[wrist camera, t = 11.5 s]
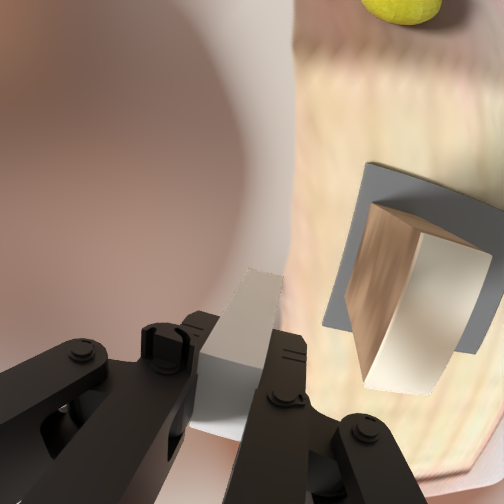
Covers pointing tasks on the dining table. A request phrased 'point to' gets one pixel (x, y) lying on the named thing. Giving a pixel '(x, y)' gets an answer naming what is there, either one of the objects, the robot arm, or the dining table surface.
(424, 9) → the fruit
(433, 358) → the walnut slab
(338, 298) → the felt pad
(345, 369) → the dining table surface
